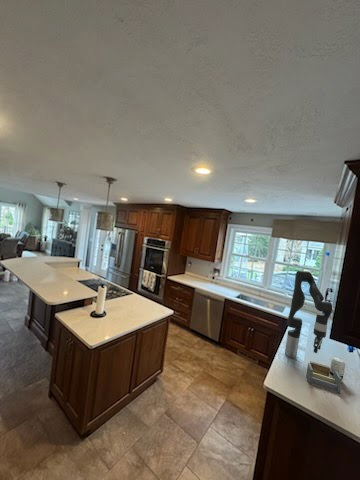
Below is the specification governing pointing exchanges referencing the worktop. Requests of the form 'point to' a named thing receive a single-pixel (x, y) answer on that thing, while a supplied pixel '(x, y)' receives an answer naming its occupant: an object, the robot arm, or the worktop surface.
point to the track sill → (324, 380)
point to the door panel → (320, 369)
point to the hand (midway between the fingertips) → (316, 350)
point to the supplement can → (337, 367)
